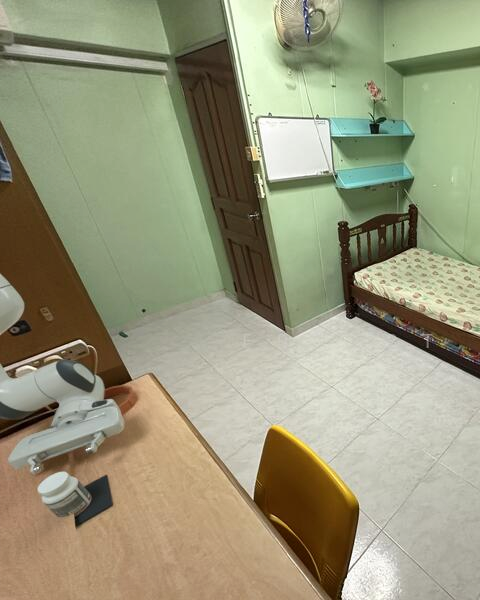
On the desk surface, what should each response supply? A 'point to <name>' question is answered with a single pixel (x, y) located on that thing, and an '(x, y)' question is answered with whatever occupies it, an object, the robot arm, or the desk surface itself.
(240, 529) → the desk surface
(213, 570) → the desk surface
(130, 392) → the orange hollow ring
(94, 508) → the mat
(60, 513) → the pill bottle
